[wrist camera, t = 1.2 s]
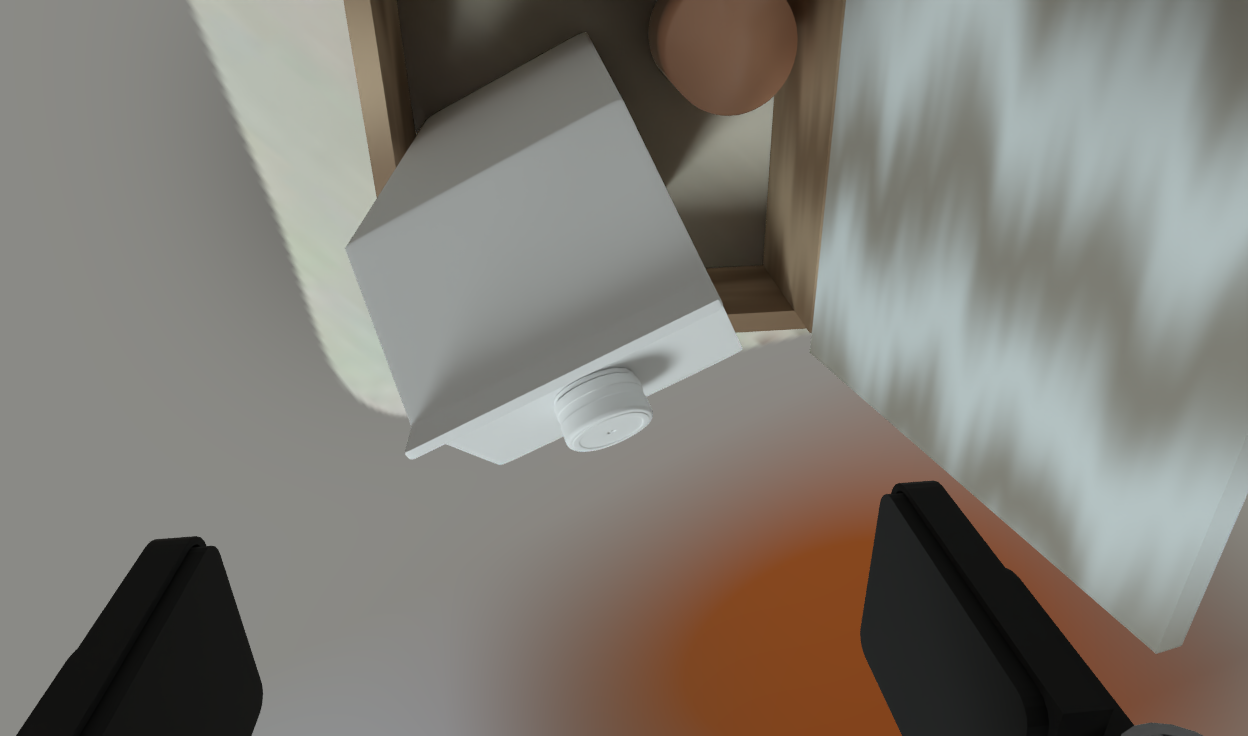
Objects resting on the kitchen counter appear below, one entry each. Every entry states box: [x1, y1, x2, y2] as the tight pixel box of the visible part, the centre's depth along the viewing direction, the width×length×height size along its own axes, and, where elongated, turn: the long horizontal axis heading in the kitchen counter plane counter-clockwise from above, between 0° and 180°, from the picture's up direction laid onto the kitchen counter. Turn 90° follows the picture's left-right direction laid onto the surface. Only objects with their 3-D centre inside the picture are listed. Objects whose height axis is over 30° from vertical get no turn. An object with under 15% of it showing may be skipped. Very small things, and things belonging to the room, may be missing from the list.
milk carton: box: [345, 32, 743, 465], centre depth 24 cm, size 7×7×19 cm
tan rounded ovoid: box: [648, 0, 798, 116], centre depth 29 cm, size 4×4×5 cm
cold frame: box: [344, 0, 1248, 654], centre depth 23 cm, size 14×19×22 cm
